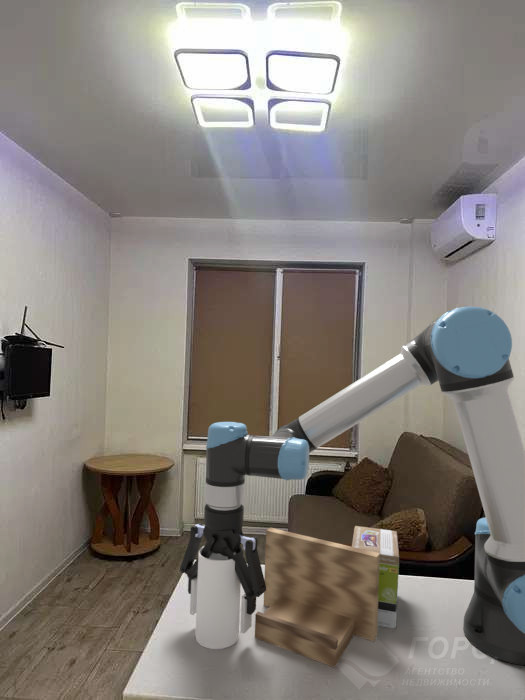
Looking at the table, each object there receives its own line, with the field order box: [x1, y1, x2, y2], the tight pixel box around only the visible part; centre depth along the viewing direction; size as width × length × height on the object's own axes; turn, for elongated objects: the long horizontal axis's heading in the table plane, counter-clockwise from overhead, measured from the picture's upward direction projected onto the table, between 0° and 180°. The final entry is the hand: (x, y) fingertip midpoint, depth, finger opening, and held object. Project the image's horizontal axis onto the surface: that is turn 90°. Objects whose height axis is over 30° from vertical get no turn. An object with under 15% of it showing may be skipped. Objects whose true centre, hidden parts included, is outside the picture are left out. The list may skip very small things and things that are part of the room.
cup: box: [194, 545, 242, 650], centre depth 88 cm, size 8×8×16 cm
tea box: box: [351, 525, 400, 629], centre depth 100 cm, size 15×10×15 cm, turn 166°
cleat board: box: [254, 527, 380, 668], centre depth 89 cm, size 24×13×16 cm, turn 62°
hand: (220, 620), depth 88 cm, fingers open, 11 cm apart
